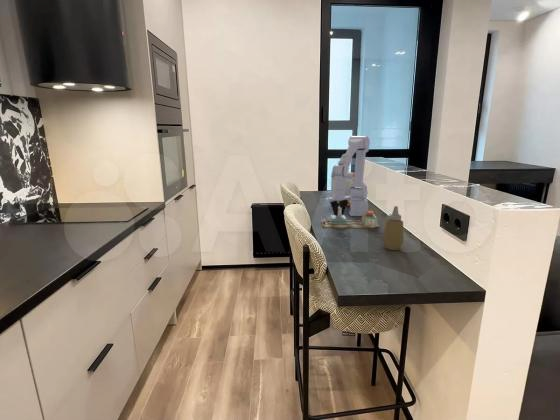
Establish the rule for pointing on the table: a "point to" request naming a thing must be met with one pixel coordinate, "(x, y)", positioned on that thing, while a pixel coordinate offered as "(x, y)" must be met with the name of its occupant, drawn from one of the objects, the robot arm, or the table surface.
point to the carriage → (338, 217)
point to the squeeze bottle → (394, 231)
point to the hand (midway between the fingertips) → (338, 214)
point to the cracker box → (348, 181)
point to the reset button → (369, 213)
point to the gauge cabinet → (369, 220)
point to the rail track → (347, 224)
